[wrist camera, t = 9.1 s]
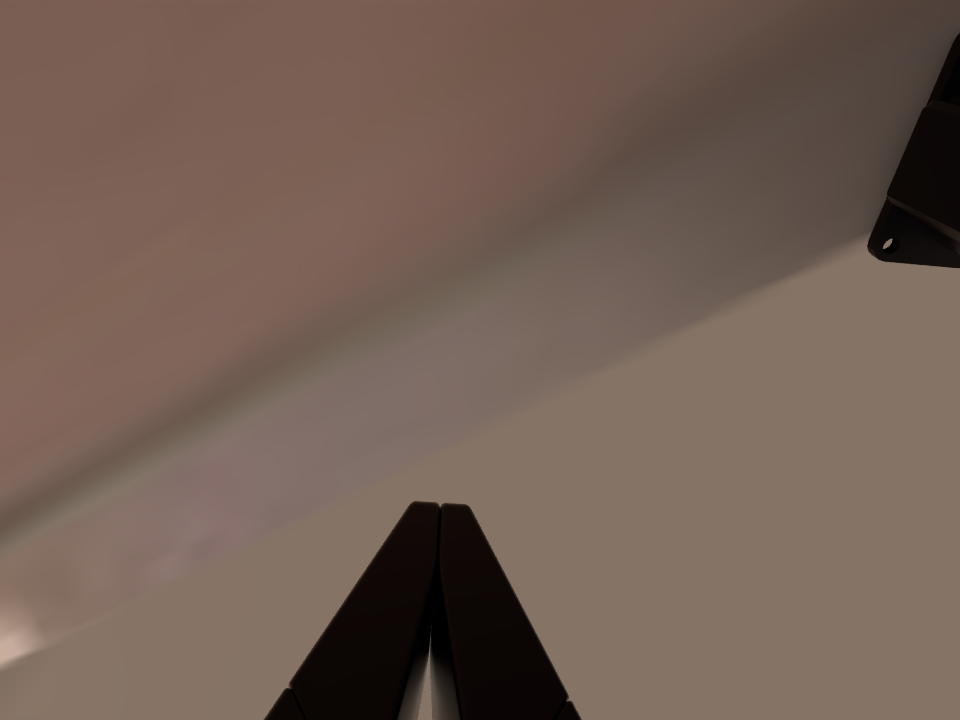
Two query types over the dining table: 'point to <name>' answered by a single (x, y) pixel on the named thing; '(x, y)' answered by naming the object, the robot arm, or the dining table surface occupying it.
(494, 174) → the dining table surface
